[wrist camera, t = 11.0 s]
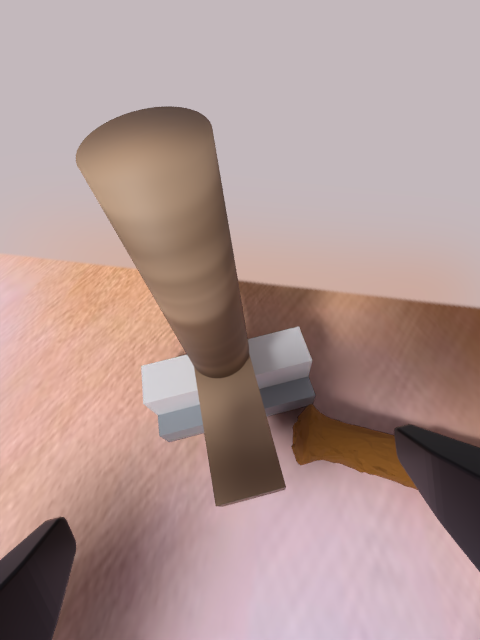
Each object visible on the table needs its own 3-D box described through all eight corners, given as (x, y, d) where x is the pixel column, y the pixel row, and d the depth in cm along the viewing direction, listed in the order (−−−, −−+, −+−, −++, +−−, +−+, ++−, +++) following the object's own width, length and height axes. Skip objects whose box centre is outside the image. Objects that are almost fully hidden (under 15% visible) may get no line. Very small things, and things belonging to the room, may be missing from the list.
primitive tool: (634, 474, 17) (709, 469, 14) (680, 599, 15) (784, 623, 12) (295, 408, 21) (298, 393, 18) (283, 497, 19) (285, 496, 16)
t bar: (286, 489, 14) (320, 426, 3) (221, 507, 14) (32, 502, 3) (227, 272, 22) (177, 32, 11) (183, 282, 22) (88, 51, 11)
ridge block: (289, 341, 23) (292, 309, 20) (312, 404, 21) (320, 381, 17) (162, 374, 23) (140, 347, 19) (169, 441, 20) (144, 426, 17)
